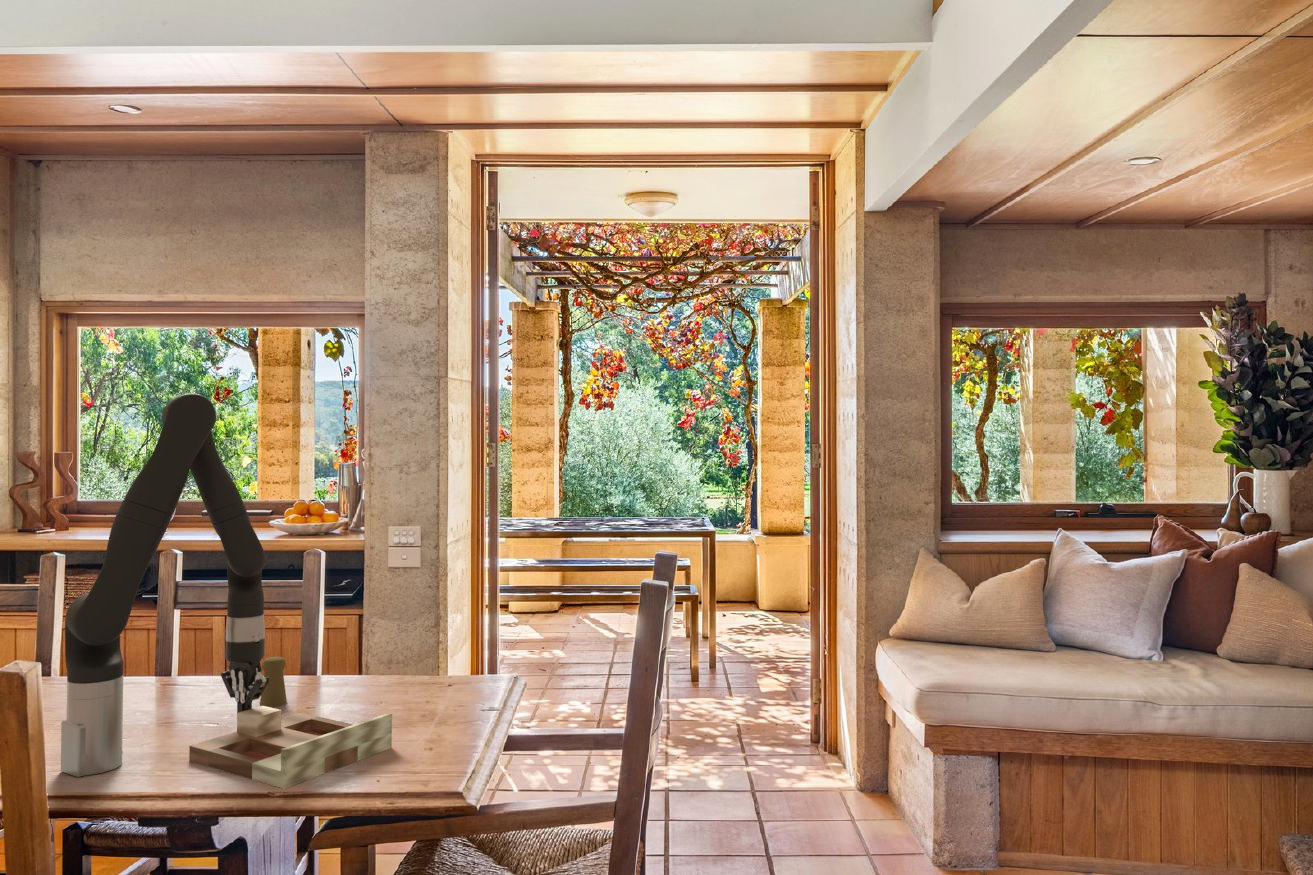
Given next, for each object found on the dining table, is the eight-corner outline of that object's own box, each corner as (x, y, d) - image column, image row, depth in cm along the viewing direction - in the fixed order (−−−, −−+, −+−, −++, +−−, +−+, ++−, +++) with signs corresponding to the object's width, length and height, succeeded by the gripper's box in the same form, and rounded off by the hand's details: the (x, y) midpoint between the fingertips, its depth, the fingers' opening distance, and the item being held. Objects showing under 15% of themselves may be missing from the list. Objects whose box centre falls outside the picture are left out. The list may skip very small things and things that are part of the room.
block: (255, 737, 183) (256, 717, 183) (236, 732, 186) (237, 712, 186) (281, 729, 189) (281, 710, 189) (262, 724, 192) (262, 705, 192)
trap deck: (284, 788, 164) (284, 750, 164) (189, 761, 178) (189, 725, 178) (391, 747, 187) (392, 713, 187) (299, 725, 201) (300, 694, 201)
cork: (276, 707, 214) (277, 661, 214) (254, 706, 216) (254, 659, 216) (292, 700, 220) (292, 655, 220) (269, 699, 221) (270, 654, 222)
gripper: (208, 636, 190) (207, 719, 190) (250, 643, 184) (249, 729, 184) (240, 630, 197) (239, 710, 197) (281, 636, 190) (280, 719, 190)
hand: (244, 719), depth 190 cm, fingers closed
